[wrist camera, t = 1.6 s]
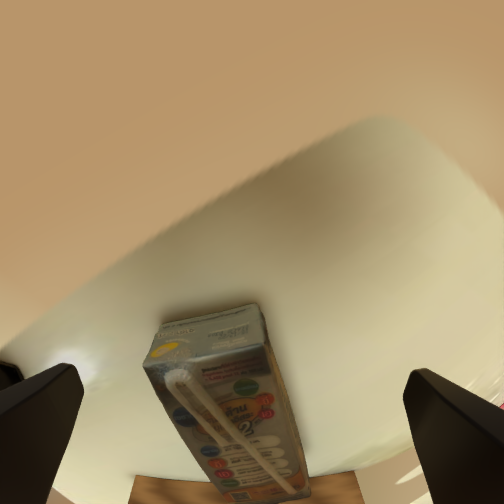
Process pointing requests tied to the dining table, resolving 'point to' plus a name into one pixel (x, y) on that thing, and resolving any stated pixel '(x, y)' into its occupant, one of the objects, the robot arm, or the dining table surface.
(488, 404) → the robot arm
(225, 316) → the beverage carton
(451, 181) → the dining table surface
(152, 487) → the bookend rail
